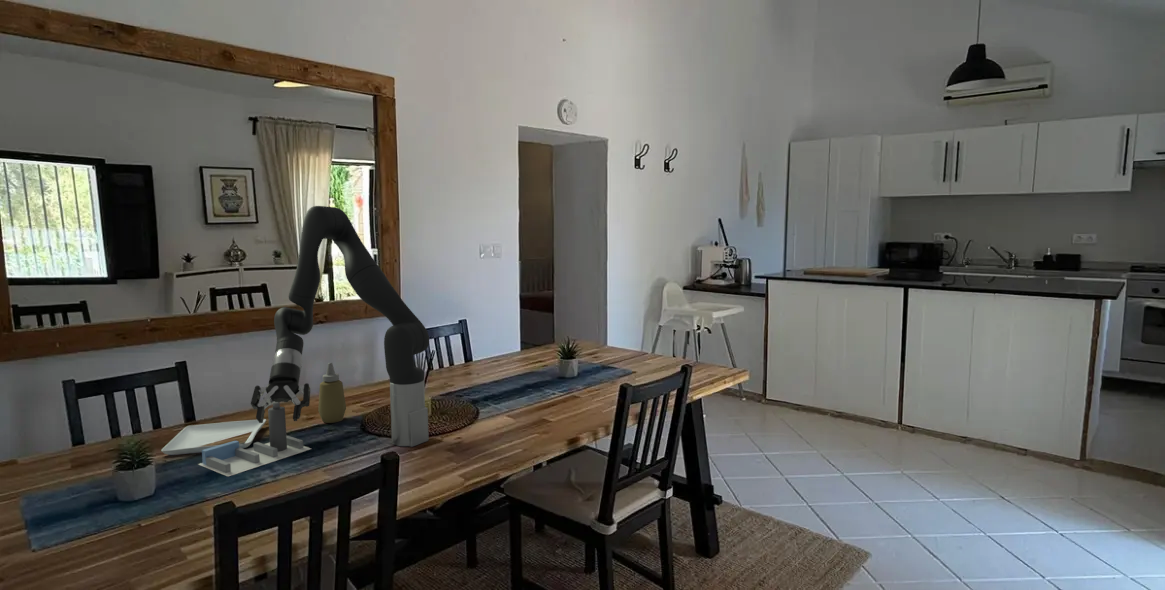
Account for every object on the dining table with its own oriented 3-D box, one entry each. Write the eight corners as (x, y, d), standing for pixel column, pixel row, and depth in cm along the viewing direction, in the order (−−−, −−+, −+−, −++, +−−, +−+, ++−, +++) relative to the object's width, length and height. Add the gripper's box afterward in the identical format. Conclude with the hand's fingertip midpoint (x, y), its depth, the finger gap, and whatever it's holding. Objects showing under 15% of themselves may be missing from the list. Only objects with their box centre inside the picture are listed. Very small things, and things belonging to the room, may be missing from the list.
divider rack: (311, 452, 169) (311, 435, 168) (228, 480, 151) (227, 462, 150) (281, 442, 176) (280, 426, 176) (198, 468, 158) (196, 450, 158)
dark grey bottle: (290, 448, 169) (287, 402, 168) (275, 452, 166) (273, 405, 164) (281, 445, 171) (278, 399, 170) (267, 449, 168) (264, 403, 166)
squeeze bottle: (328, 426, 190) (325, 367, 188) (313, 421, 195) (310, 363, 193) (352, 419, 197) (349, 362, 194) (337, 415, 201) (334, 359, 199)
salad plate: (160, 462, 163) (159, 449, 162) (187, 435, 183) (186, 424, 183) (251, 454, 168) (250, 441, 168) (267, 429, 189) (267, 418, 188)
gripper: (255, 362, 174) (244, 415, 164) (310, 360, 177) (303, 412, 167) (261, 376, 180) (252, 429, 170) (315, 374, 182) (309, 425, 173)
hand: (277, 420), depth 168 cm, fingers open, 8 cm apart
